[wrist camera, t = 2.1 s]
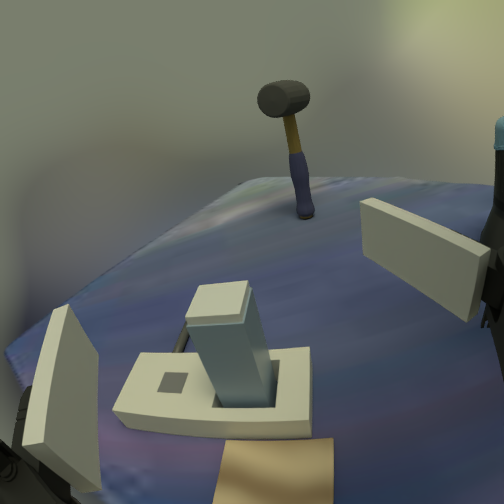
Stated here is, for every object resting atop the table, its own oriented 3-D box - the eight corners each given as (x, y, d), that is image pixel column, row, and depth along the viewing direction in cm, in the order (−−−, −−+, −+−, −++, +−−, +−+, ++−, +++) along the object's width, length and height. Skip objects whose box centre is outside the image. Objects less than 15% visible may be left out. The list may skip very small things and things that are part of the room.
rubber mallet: (300, 206, 77) (277, 82, 63) (330, 206, 73) (309, 76, 59) (280, 228, 68) (250, 85, 54) (313, 229, 64) (286, 78, 50)
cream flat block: (174, 322, 46) (166, 302, 45) (311, 311, 42) (308, 289, 41) (127, 427, 30) (111, 409, 28) (311, 437, 26) (308, 419, 24)
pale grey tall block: (237, 387, 33) (198, 284, 27) (277, 386, 32) (250, 279, 26) (230, 420, 29) (182, 318, 23) (274, 420, 28) (241, 314, 22)
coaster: (227, 442, 27) (226, 440, 27) (333, 440, 25) (333, 437, 25) (208, 533, 18) (206, 532, 18) (332, 539, 16) (332, 537, 16)
